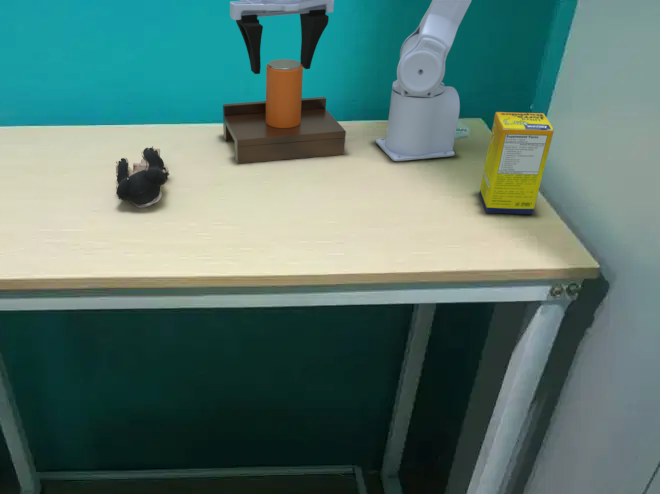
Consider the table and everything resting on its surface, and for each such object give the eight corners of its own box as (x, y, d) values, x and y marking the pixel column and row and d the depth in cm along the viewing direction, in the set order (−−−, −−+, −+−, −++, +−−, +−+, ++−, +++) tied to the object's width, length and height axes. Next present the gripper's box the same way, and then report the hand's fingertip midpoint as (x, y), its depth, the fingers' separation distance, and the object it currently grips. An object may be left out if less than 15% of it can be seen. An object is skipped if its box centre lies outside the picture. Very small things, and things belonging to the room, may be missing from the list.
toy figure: (115, 170, 104) (115, 211, 92) (116, 125, 101) (115, 162, 89) (166, 173, 106) (172, 214, 93) (168, 129, 102) (174, 166, 90)
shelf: (322, 128, 116) (324, 96, 113) (344, 154, 108) (346, 120, 105) (223, 136, 114) (222, 103, 111) (237, 163, 105) (237, 129, 102)
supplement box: (523, 195, 97) (544, 111, 90) (533, 215, 92) (555, 129, 85) (477, 193, 97) (494, 110, 90) (484, 213, 92) (503, 127, 86)
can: (295, 115, 111) (297, 57, 106) (304, 126, 107) (307, 67, 102) (262, 117, 110) (262, 59, 105) (270, 129, 106) (271, 70, 101)
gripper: (240, -29, 93) (241, 82, 101) (345, -35, 96) (337, 72, 105) (224, -38, 98) (226, 68, 106) (325, -44, 101) (319, 59, 110)
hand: (280, 69), depth 106 cm, fingers open, 7 cm apart
